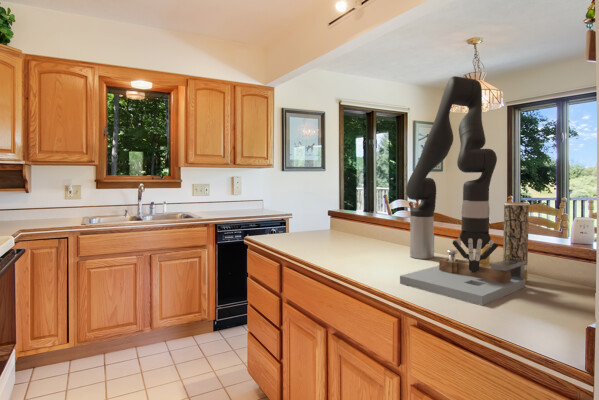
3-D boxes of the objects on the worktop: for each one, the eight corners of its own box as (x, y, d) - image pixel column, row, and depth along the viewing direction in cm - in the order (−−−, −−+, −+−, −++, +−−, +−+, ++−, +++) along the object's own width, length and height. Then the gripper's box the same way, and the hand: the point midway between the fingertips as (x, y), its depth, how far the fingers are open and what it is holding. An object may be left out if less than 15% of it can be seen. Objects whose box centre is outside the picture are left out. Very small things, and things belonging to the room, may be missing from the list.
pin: (480, 270, 121) (480, 243, 121) (491, 272, 118) (491, 245, 118) (474, 272, 119) (475, 244, 119) (485, 274, 116) (486, 246, 116)
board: (445, 270, 132) (445, 263, 132) (524, 287, 111) (525, 278, 111) (399, 283, 116) (399, 275, 116) (482, 305, 96) (482, 296, 95)
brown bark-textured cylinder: (518, 284, 114) (520, 204, 112) (497, 279, 120) (499, 202, 118) (531, 281, 117) (533, 203, 115) (510, 276, 123) (512, 202, 121)
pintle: (449, 276, 124) (450, 249, 123) (458, 278, 121) (459, 250, 121) (444, 278, 122) (445, 250, 121) (453, 280, 119) (454, 251, 119)
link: (438, 270, 122) (438, 260, 122) (448, 267, 126) (448, 257, 126) (502, 284, 106) (503, 272, 105) (512, 280, 109) (512, 268, 109)
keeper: (509, 284, 114) (510, 258, 113) (523, 287, 111) (524, 260, 110) (490, 292, 107) (491, 264, 106) (504, 295, 103) (505, 266, 103)
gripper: (451, 216, 110) (450, 273, 111) (501, 217, 105) (499, 277, 106) (451, 213, 117) (450, 267, 118) (498, 215, 112) (497, 271, 113)
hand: (473, 272), depth 112 cm, fingers closed
